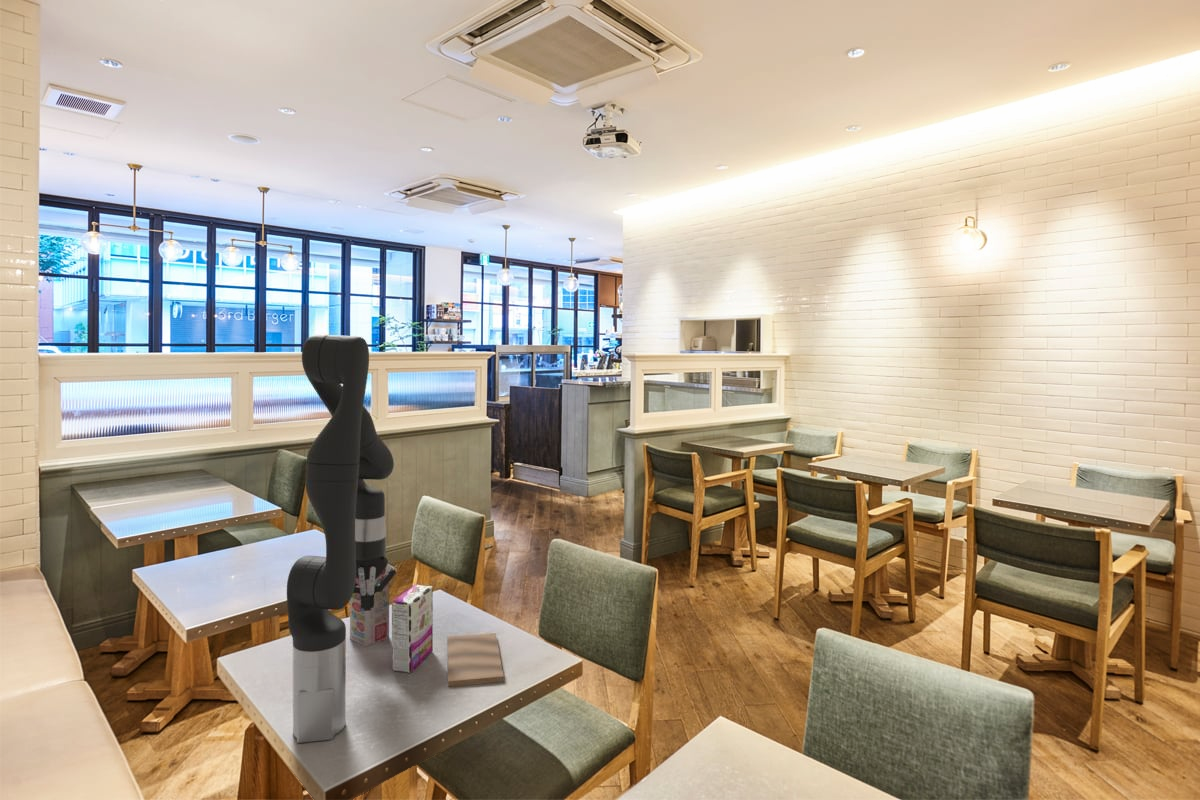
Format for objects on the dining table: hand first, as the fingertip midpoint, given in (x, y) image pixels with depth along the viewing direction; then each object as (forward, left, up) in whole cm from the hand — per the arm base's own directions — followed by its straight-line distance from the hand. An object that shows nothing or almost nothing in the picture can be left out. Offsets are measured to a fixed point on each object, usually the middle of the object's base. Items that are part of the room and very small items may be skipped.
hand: (367, 609), depth 146 cm
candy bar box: (0, -10, -13) cm, 17 cm away
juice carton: (+14, +1, -13) cm, 19 cm away
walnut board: (-2, -24, -13) cm, 27 cm away
